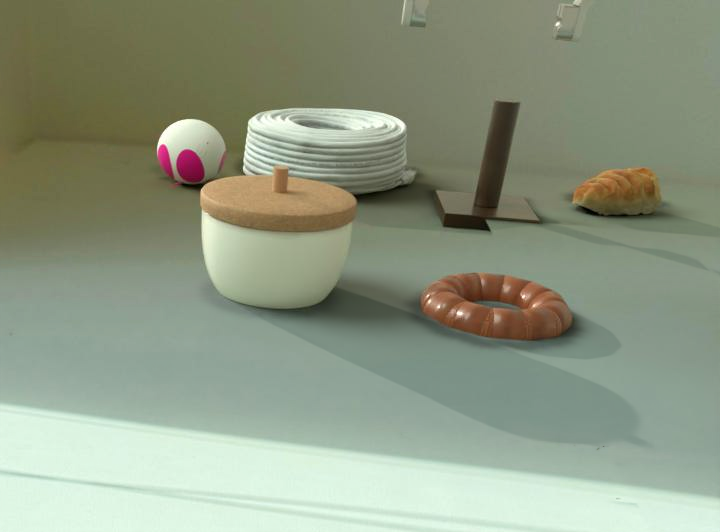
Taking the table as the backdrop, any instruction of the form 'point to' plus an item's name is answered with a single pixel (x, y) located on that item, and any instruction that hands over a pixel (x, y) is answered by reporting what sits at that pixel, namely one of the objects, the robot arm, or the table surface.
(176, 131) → the stress ball
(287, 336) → the table surface
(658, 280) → the table surface
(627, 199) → the pastry
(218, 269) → the trinket box
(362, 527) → the table surface
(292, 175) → the cable
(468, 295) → the ring
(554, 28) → the robot arm
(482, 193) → the stand
